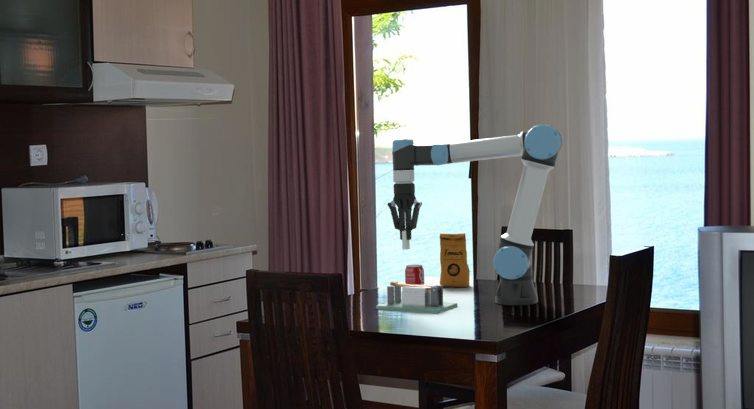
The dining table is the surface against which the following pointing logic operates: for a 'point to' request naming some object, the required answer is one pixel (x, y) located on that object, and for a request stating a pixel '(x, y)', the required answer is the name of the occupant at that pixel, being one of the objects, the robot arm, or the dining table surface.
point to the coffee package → (453, 261)
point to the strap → (406, 285)
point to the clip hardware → (396, 293)
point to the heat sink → (416, 296)
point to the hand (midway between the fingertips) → (406, 249)
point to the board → (398, 307)
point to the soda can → (414, 274)
